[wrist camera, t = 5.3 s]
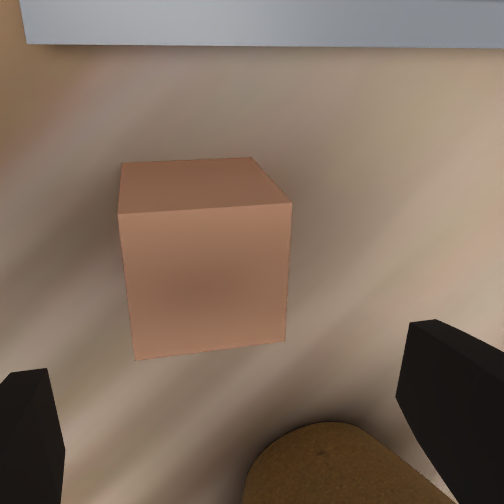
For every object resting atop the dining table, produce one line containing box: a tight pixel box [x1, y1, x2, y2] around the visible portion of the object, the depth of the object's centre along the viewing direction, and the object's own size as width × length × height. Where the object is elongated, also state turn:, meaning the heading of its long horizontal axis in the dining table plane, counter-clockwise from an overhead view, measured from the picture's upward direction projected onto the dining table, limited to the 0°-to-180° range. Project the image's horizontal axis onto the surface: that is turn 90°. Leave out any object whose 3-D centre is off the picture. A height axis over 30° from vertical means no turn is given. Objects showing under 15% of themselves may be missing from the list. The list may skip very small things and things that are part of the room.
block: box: [117, 157, 292, 361], centre depth 15 cm, size 4×4×5 cm
